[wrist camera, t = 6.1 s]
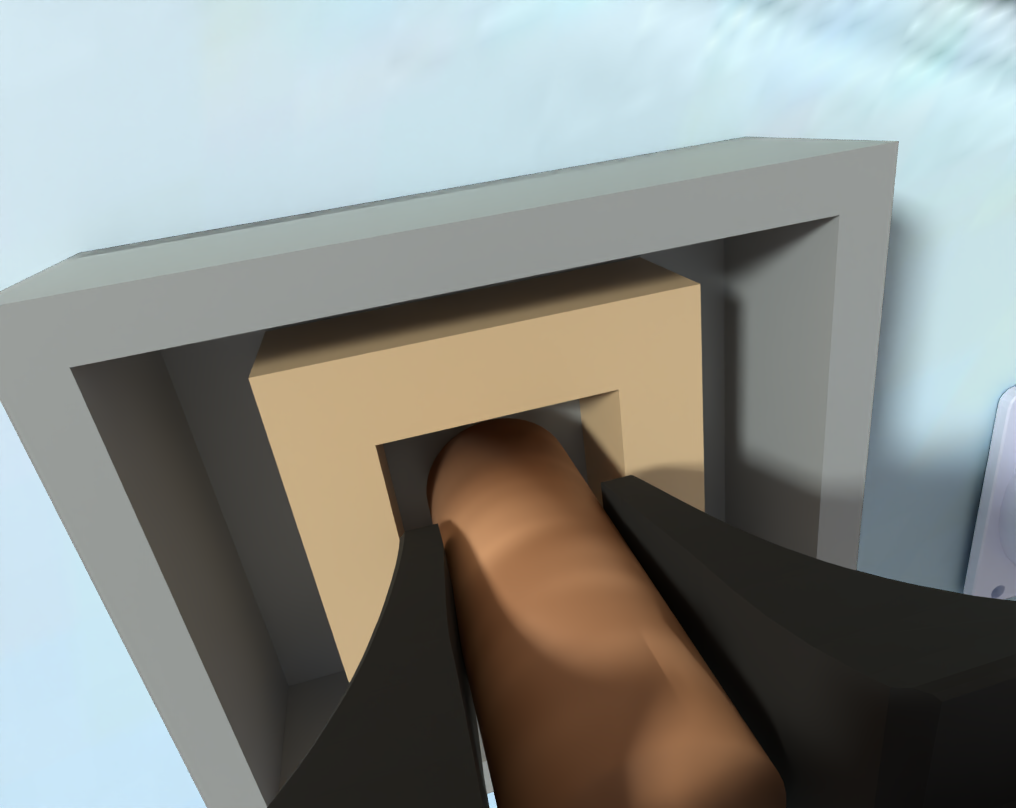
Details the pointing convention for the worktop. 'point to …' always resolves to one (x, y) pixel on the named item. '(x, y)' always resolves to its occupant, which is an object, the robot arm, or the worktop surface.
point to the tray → (212, 466)
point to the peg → (577, 643)
